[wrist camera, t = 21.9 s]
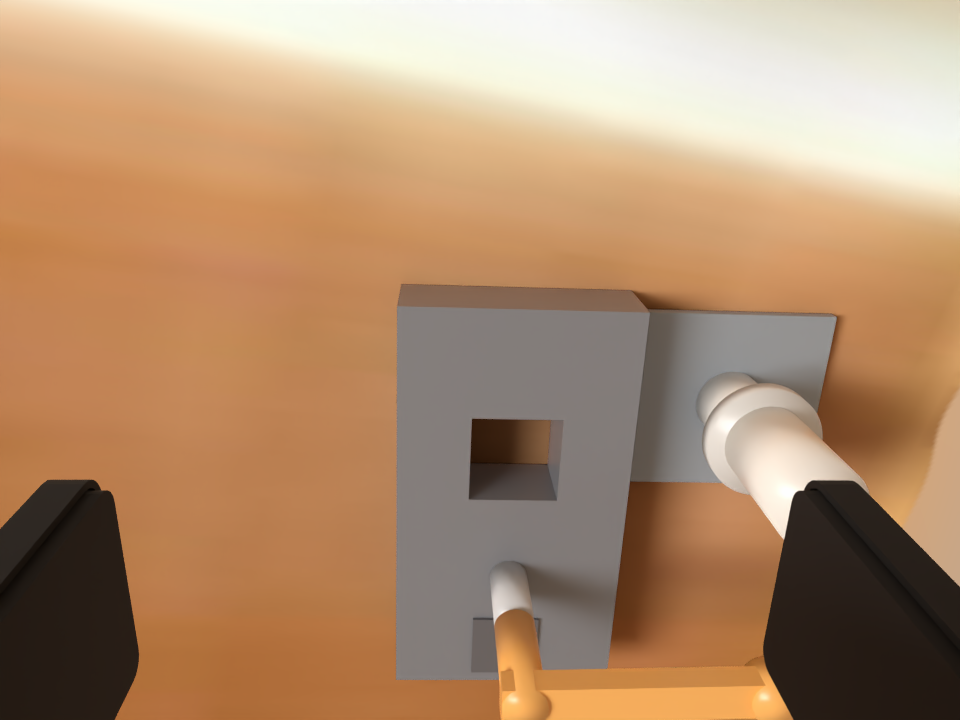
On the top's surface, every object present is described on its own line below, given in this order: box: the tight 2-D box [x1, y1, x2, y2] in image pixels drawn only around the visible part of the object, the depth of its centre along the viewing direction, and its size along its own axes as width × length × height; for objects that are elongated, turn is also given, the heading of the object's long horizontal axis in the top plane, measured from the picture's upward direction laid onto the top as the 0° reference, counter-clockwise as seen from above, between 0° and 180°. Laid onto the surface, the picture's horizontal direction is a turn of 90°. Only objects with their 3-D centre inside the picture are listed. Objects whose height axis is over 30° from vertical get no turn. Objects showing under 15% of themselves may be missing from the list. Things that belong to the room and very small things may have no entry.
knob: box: [696, 372, 869, 539], centre depth 37 cm, size 6×6×11 cm
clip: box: [494, 609, 793, 720], centre depth 36 cm, size 13×2×6 cm, turn 89°
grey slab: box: [396, 284, 650, 680], centre depth 41 cm, size 22×12×8 cm, turn 178°
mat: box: [630, 309, 837, 483], centre depth 43 cm, size 10×10×1 cm
